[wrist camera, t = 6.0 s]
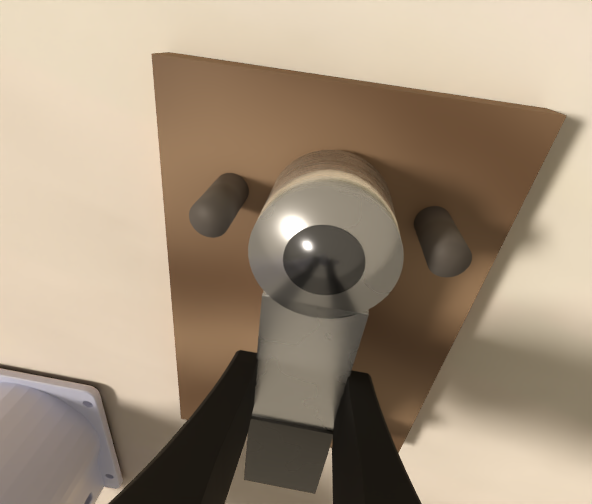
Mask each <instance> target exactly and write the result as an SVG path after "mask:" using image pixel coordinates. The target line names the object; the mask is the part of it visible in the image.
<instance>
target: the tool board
mask: <svg viewBox="0 0 592 504" xmlns="http://www.w3.org/2000/svg"><path fill="white" fill-rule="evenodd" d="M152 64H153V77H154V89H155V101H156V114H157V126H158V138H159V151H160V163H161V175H162V188H163V200H164V212H165V225H166V237H167V249H168V262H169V274H170V286H171V299H172V311H173V323H174V335H175V348H176V360H177V372H178V385H179V397H180V409H181V419H186V420H188V419H189V418H190V417H191V416H192V414H193V413H194V412H195V411H196V409H197V408H198V407H199V405H200V404H201V403H202V402H203V400H204V399H205V398H206V396H207V395H208V394H209V392H210V391H211V390H212V388H213V387H214V386H215V384H216V383H217V381H218V380H219V379H220V377H221V376H222V374H223V373H224V371H225V370H226V368H227V367H228V365H229V363H230V362H231V360H232V358H233V357H234V355H235V353H236V352H237V351H239V350H244V351H249V352H255V353H257V347H258V335H259V324H260V312H261V301H262V294H263V291H264V290H263V289H262V288H261V287H260V285H259V284H258V282H257V281H256V279H255V277H254V275H253V273H252V270H251V267H250V263H249V257H248V245H249V239H250V235H251V232H252V230H253V228H254V225H255V223H256V221H257V219H258V217H259V215H260V213H261V211H262V209H263V207H264V205H265V202H266V200H267V198H268V196H269V194H270V192H271V190H272V188H273V186H274V184H275V182H276V179H277V178H278V176H279V175H280V173H281V172H282V171H283V170H284V169H285V168H286V167H287V166H288V165H289V164H290V163H291V162H293V161H294V160H296V159H297V158H299V157H301V156H303V155H305V154H308V153H311V152H315V151H320V150H341V151H346V152H350V153H352V154H355V155H358V156H359V157H361V158H363V159H365V160H366V161H368V162H369V163H371V164H372V165H373V166H374V167H375V168H376V169H377V170H378V171H379V172H380V174H381V175H382V176H383V178H384V180H385V181H386V183H387V186H388V188H389V191H390V195H391V199H392V203H393V208H394V212H395V216H396V220H397V224H398V228H399V232H400V236H401V241H402V245H403V253H404V260H403V267H402V271H401V275H400V277H399V279H398V282H397V283H396V285H395V286H394V288H393V290H392V291H391V292H390V293H389V294H388V295H387V296H386V297H385V298H384V299H383V300H382V301H381V302H380V303H378V304H377V305H375V306H374V307H372V308H370V309H368V310H369V316H368V319H367V322H366V325H365V329H364V332H363V335H362V338H361V341H360V345H359V348H358V351H357V354H356V357H355V361H354V364H353V367H352V370H353V371H358V372H364V373H368V374H369V375H370V376H371V379H372V382H373V386H374V389H375V393H376V396H377V399H378V402H379V405H380V408H381V410H382V413H383V416H384V419H385V422H386V424H387V427H388V429H389V432H390V434H391V437H392V439H393V442H394V444H395V447H396V449H397V451H398V453H399V451H400V449H401V447H402V445H403V443H404V441H405V439H406V437H407V435H408V433H409V431H410V429H411V427H412V425H413V423H414V421H415V419H416V417H417V415H418V413H419V411H420V409H421V407H422V405H423V403H424V401H425V399H426V397H427V395H428V393H429V391H430V388H431V386H432V384H433V382H434V380H435V378H436V376H437V374H438V372H439V370H440V368H441V366H442V364H443V362H444V360H445V358H446V356H447V354H448V352H449V350H450V348H451V346H452V344H453V342H454V340H455V338H456V336H457V334H458V332H459V330H460V328H461V326H462V324H463V322H464V320H465V318H466V316H467V314H468V312H469V310H470V308H471V306H472V304H473V302H474V300H475V298H476V296H477V294H478V292H479V290H480V288H481V286H482V284H483V282H484V280H485V278H486V276H487V274H488V272H489V270H490V268H491V266H492V264H493V262H494V260H495V258H496V256H497V254H498V252H499V250H500V248H501V246H502V244H503V242H504V240H505V238H506V236H507V234H508V232H509V230H510V228H511V226H512V224H513V222H514V220H515V218H516V216H517V214H518V212H519V210H520V208H521V206H522V204H523V202H524V200H525V198H526V196H527V194H528V192H529V190H530V188H531V186H532V184H533V182H534V180H535V178H536V176H537V174H538V172H539V170H540V168H541V166H542V164H543V162H544V160H545V158H546V156H547V154H548V152H549V150H550V148H551V146H552V144H553V142H554V140H555V138H556V136H557V134H558V132H559V130H560V128H561V126H562V124H563V122H564V120H565V118H566V115H563V114H561V113H558V112H555V111H552V110H549V109H547V108H540V107H533V106H527V105H520V104H513V103H507V102H500V101H493V100H486V99H480V98H473V97H466V96H460V95H453V94H446V93H439V92H433V91H426V90H419V89H412V88H406V87H399V86H392V85H386V84H379V83H372V82H365V81H359V80H352V79H345V78H338V77H332V76H325V75H318V74H312V73H305V72H298V71H291V70H285V69H278V68H271V67H265V66H258V65H251V64H244V63H238V62H231V61H224V60H217V59H211V58H204V57H197V56H191V55H184V54H177V53H170V52H167V53H155V54H152ZM332 442H333V439H332ZM332 442H331V445H330V447H331V448H332Z"/></svg>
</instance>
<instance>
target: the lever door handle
mask: <svg viewBox="0 0 592 504" xmlns="http://www.w3.org/2000/svg"><path fill="white" fill-rule="evenodd" d="M248 257H249V263H250V267H251V270H252V273H253V275H254V277H255V279H256V281H257V282H258V284H259V285H260V287H261V288H262V289H263V290H264V291H263V294H262V301H261V312H260V324H259V335H258V347H257V358H256V360H258V365H257V376H256V387H255V399H254V408H253V412H252V417H251V421H250V425H249V430H248V440H247V452H246V464H245V477H244V480H249V481H254V482H259V483H264V484H269V485H274V486H279V487H284V488H289V489H294V490H299V491H304V492H309V493H314V494H315V492H316V489H317V486H318V483H319V479H320V476H321V473H322V470H323V467H324V464H325V461H326V458H327V454H328V451H329V448H330V445H331V442H332V439H333V428H334V420H335V417H336V414H337V411H338V407H339V404H340V401H341V398H342V394H343V391H344V388H345V385H346V382H347V378H348V377H350V373H351V370H352V367H353V364H354V361H355V357H356V354H357V351H358V348H359V345H360V341H361V338H362V335H363V332H364V329H365V325H366V322H367V319H368V316H369V310H368V309H370V308H372V307H374V306H375V305H377V304H378V303H380V302H381V301H382V300H383V299H384V298H385V297H386V296H387V295H388V294H389V293H390V292H391V291H392V290H393V288H394V286H395V285H396V283H397V282H398V279H399V277H400V275H401V271H402V267H403V260H404V253H403V245H402V241H401V236H400V232H399V228H398V224H397V220H396V216H395V212H394V208H393V203H392V199H391V195H390V191H389V188H388V186H387V183H386V181H385V180H384V178H383V176H382V175H381V174H380V172H379V171H378V170H377V169H376V168H375V167H374V166H373V165H372V164H371V163H369V162H368V161H366V160H365V159H363V158H361V157H359V156H358V155H355V154H352V153H350V152H346V151H341V150H320V151H315V152H311V153H308V154H305V155H303V156H301V157H299V158H297V159H296V160H294V161H293V162H291V163H290V164H289V165H288V166H287V167H286V168H285V169H284V170H283V171H282V172H281V173H280V175H279V176H278V178H277V179H276V182H275V184H274V186H273V188H272V190H271V192H270V194H269V196H268V198H267V200H266V202H265V205H264V207H263V209H262V211H261V213H260V215H259V217H258V219H257V221H256V223H255V225H254V228H253V230H252V232H251V235H250V239H249V245H248Z"/></svg>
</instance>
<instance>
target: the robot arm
mask: <svg viewBox="0 0 592 504" xmlns="http://www.w3.org/2000/svg"><path fill="white" fill-rule="evenodd" d="M256 358H257V353H255V352H249V351H244V350H239V351H237V352H236V353H235V355H234V357H233V358H232V360H231V362H230V363H229V365H228V367H227V368H226V370H225V371H224V373H223V374H222V376H221V377H220V379H219V380H218V381H217V383H216V384H215V386H214V387H213V388H212V390H211V391H210V392H209V394H208V395H207V396H206V398H205V399H204V400H203V402H202V403H201V404H200V405H199V407H198V408H197V409H196V411H195V412H194V413H193V414H192V416H191V417H190V418H189V419H188V420H187V422H186V423H185V424H184V425H183V426H182V427H181V429H180V430H179V431H178V432H177V433H176V434H175V436H174V437H173V438H172V439H171V440H170V441H169V443H168V444H167V445H166V446H165V447H164V448H163V449H162V450H161V451H160V452H159V454H158V455H157V456H156V457H155V458H154V459H153V460H152V461H151V462H150V463H149V464H148V465H147V466H146V467H145V468H144V469H143V470H142V471H141V472H140V473H139V474H138V475H137V476H136V477H135V478H134V479H133V480H132V481H131V482H130V483H129V484H128V485H127V486H126V487H125V488H124V489H123V490H122V491H121V492H120V493H119V494H118V495H117V496H116V497H115V498H114V499H113V500H112V501H111V502H110V503H108V504H224V503H225V500H226V497H227V494H228V491H229V488H230V485H231V482H232V479H233V476H234V473H235V470H236V467H237V464H238V461H239V458H240V455H241V452H242V449H243V446H244V443H245V440H246V436H247V433H248V430H249V425H250V421H251V417H252V412H253V408H254V399H255V387H256V376H257V365H258V360H256ZM332 473H333V504H421V502H420V500H419V498H418V496H417V494H416V491H415V489H414V487H413V485H412V483H411V481H410V479H409V476H408V474H407V472H406V470H405V468H404V465H403V463H402V461H401V459H400V456H399V454H398V451H397V449H396V447H395V444H394V442H393V439H392V437H391V434H390V432H389V429H388V427H387V424H386V422H385V419H384V416H383V413H382V410H381V408H380V405H379V402H378V399H377V396H376V393H375V389H374V386H373V382H372V379H371V376H370V375H369V374H368V373H364V372H358V371H353V370H351V373H350V377H348V378H347V382H346V385H345V388H344V391H343V394H342V398H341V401H340V404H339V407H338V411H337V414H336V417H335V420H334V428H333V442H332ZM122 482H123V479H122V475H121V471H120V468H119V464H118V460H117V456H116V453H115V449H114V445H113V441H112V438H111V434H110V430H109V426H108V423H107V419H106V415H105V411H104V408H103V404H102V400H101V396H100V393H99V391H98V390H97V389H96V388H95V387H93V386H90V385H85V384H80V383H74V382H69V381H64V380H59V379H54V378H48V377H43V376H38V375H33V374H28V373H22V372H17V371H12V370H7V369H1V368H0V504H95V502H96V500H97V498H98V497H99V495H100V493H101V491H102V489H103V487H109V488H115V489H116V488H119V487H120V486H121V484H122Z"/></svg>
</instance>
